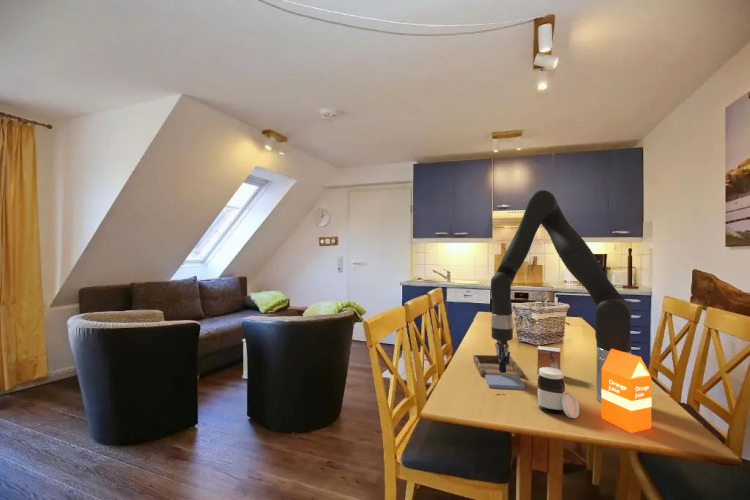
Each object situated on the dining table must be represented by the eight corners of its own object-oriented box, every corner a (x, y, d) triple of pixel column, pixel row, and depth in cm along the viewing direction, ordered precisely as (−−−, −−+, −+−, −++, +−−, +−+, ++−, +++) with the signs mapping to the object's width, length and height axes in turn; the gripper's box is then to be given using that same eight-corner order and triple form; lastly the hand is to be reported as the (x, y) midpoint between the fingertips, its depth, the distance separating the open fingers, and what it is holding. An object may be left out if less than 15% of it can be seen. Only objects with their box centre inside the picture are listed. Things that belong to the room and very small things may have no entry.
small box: (537, 376, 136) (536, 349, 136) (537, 371, 141) (537, 345, 141) (560, 379, 132) (560, 351, 132) (560, 374, 137) (560, 347, 137)
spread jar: (538, 399, 116) (538, 364, 116) (578, 406, 110) (578, 369, 110) (536, 415, 105) (536, 376, 105) (580, 423, 100) (580, 382, 100)
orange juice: (620, 413, 105) (620, 347, 105) (651, 428, 97) (652, 355, 97) (601, 418, 103) (600, 349, 103) (631, 433, 95) (631, 359, 94)
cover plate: (525, 393, 122) (525, 386, 122) (489, 391, 123) (489, 384, 123) (518, 383, 130) (518, 376, 130) (485, 381, 132) (485, 374, 132)
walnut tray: (522, 380, 132) (522, 370, 132) (481, 378, 134) (481, 369, 134) (510, 364, 150) (510, 355, 150) (473, 362, 152) (473, 354, 152)
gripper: (517, 330, 125) (518, 378, 125) (507, 322, 138) (508, 366, 138) (495, 329, 126) (496, 378, 126) (488, 322, 139) (488, 366, 139)
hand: (502, 372), depth 132 cm, fingers closed
